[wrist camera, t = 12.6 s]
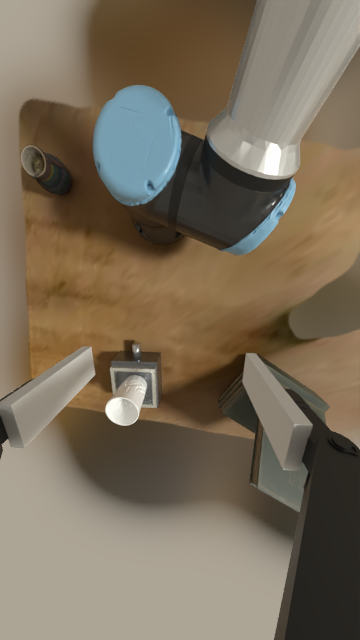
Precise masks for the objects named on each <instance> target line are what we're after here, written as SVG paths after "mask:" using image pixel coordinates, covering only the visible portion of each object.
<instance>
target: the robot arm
mask: <svg viewBox="0 0 360 640" xmlns="http://www.w3.org/2000/svg"><path fill="white" fill-rule="evenodd" d="M359 46H360V0H257V4H256V7H255V10H254V14H253V17H252V21H251V24H250V28H249V31H248V35H247V38H246V42H245V46H244V49H243V53H242V56H241V60H240V64H239V67H238V70H237V74H236V77H235V81H234V84H233V88H232V92H231V95H230V98H229V102H228V106H227V107H226V109H224V110H223V111H222V112H221V113H220V114H219V115H217V116H216V117H215V118H214V119H213V120H212V121H211V122H210V123H209V125H208V127H207V131H206V136H205V140H203V139H200V138H198V137H196V136H194V135H192V134H189V133H187V132H185V131H183V130H181V128H180V123H179V120H178V118H177V116H176V114H175V113H174V111H173V108H172V106H171V105H170V103H169V101H168V100H167V99H166V98H165V97H164V96H163V95H162V94H161V93H160V92H159V91H157V90H156V89H154V88H151V87H148V86H144V85H134V86H129V87H126V88H124V89H122V90H120V91H119V92H117V93H116V96H115V97H114V98H113V99H112V100H110V101H108V102H107V103H106V104H105V105H104V107H103V109H102V110H101V112H100V114H99V117H98V119H97V122H96V125H95V129H94V134H93V156H94V161H95V166H96V168H97V171H98V173H99V176H100V178H101V180H102V181H103V183H104V184H105V186H106V187H107V189H108V190H109V192H110V193H111V195H112V196H113V197H114V198H115V199H116V200H117V201H119V202H120V203H121V204H122V205H123V206H124V207H125V208H126V209H127V210H128V211H129V212H130V214H131V218H132V221H133V223H134V225H135V227H136V229H137V230H138V232H139V233H140V234H141V235H142V236H143V237H144V238H145V239H147V240H148V241H150V242H152V243H155V244H159V245H167V244H171V243H174V242H176V241H178V240H179V239H180V238H181V237H182V236H183V235H186V236H189V237H191V238H194V239H196V240H198V241H201V242H203V243H205V244H208V245H210V246H212V247H215V248H217V249H218V250H219V251H226V252H229V253H231V254H234V255H244V254H247V253H249V252H250V251H252V250H253V249H255V248H256V247H257V246H258V245H259V244H261V243H262V242H263V241H264V239H265V238H266V237H267V236H268V235H269V234H270V233H271V232H272V230H273V229H274V228H275V227H276V225H277V224H278V220H279V218H280V217H281V216H282V215H283V214H284V213H285V212H286V210H287V208H288V207H289V205H290V203H291V201H292V198H293V196H294V193H295V188H296V183H295V181H294V180H293V178H292V177H293V176H294V174H295V173H296V171H297V170H298V168H299V166H300V142H301V139H302V137H303V136H304V134H305V132H306V131H307V129H308V128H309V126H310V124H311V123H312V121H313V120H314V118H315V116H316V115H317V113H318V112H319V110H320V108H321V107H322V105H323V104H324V102H325V100H326V99H327V97H328V96H329V94H330V92H331V91H332V89H333V87H334V86H335V84H336V83H337V81H338V80H339V78H340V76H341V75H342V73H343V72H344V70H345V68H346V67H347V65H348V64H349V62H350V60H351V59H352V57H353V56H354V54H355V52H356V51H357V49H358V47H359ZM94 375H95V369H94V362H93V355H92V348H91V347H81V348H80V349H78V350H77V351H75V352H74V353H72V354H71V355H69V356H68V357H66V358H65V359H63V360H62V361H60V362H59V363H57V364H56V365H54V366H53V367H51V368H50V369H48V370H47V371H45V372H44V373H42V374H41V375H39V376H38V377H36V378H34V379H32V380H30V381H28V382H26V383H25V384H23V385H22V386H21V387H19V388H17V389H16V390H14V392H11V393H10V394H8V395H7V396H5V397H4V398H2V399H1V400H0V458H1V454H2V451H3V449H2V445H1V444H2V443H4V442H5V441H6V440H7V439H9V442H10V445H11V447H15V448H26V446H27V445H28V444H29V443H30V442H31V441H32V440H33V439H34V438H35V437H36V436H37V435H38V434H39V433H40V432H41V431H42V430H43V429H44V428H45V427H46V425H47V424H48V423H49V422H50V421H51V420H52V419H53V418H54V417H55V416H56V415H57V414H58V413H59V412H60V411H61V410H62V409H63V408H64V407H65V406H66V405H67V404H68V403H69V402H70V401H71V399H72V398H73V397H74V396H75V395H76V394H77V393H78V392H79V391H80V390H81V389H82V388H83V387H84V386H85V385H86V384H87V383H88V382H89V381H90V380H91V379H92V378H93V377H94ZM242 383H243V385H244V387H245V389H246V391H247V393H248V395H249V398H250V400H251V402H252V404H253V406H254V408H255V411H256V413H257V415H258V417H259V419H260V421H261V424H262V426H263V428H264V430H265V432H266V434H267V436H268V439H269V441H270V443H271V445H272V447H273V449H274V452H275V454H276V456H277V458H278V460H279V462H280V465H281V467H282V469H283V470H291V471H300V469H301V465H302V462H303V463H304V465H305V467H306V469H307V470H308V474H307V477H306V481H305V484H304V487H303V488H304V493H303V498H302V503H301V508H300V513H299V518H298V523H297V528H296V533H295V538H294V543H293V548H292V553H291V558H290V563H289V568H288V573H287V578H286V583H285V588H284V593H283V599H282V603H281V608H280V613H279V618H278V623H277V628H276V633H275V638H274V640H360V450H359V448H358V447H357V446H356V445H355V444H354V443H353V442H351V441H350V440H349V439H348V438H346V437H344V436H342V435H341V434H338V433H336V432H333V431H331V430H330V429H329V428H328V427H327V426H326V424H325V423H324V422H323V421H322V420H321V419H320V418H319V417H318V415H317V414H316V413H315V412H314V411H313V410H312V409H311V408H310V406H309V405H308V404H307V403H306V402H305V401H304V400H303V398H302V397H301V396H300V395H299V394H297V393H296V392H294V391H293V390H291V389H284V388H283V387H282V386H281V384H280V383H279V382H278V381H277V379H276V378H275V377H274V376H273V374H272V373H271V372H270V371H269V369H268V368H267V367H266V366H265V364H264V363H263V362H262V361H261V359H260V358H259V357H258V356H257V354H256V353H246V357H245V365H244V373H243V380H242Z"/></svg>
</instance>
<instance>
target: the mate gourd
mask: <svg viewBox="0 0 360 640" xmlns="http://www.w3.org/2000/svg"><path fill="white" fill-rule="evenodd" d="M20 160H21V164H22V167H23V169H24V170H25V171H26V173H27V174H29V175H30V176H31V177H32V179H36V180H37V182H38V183H39V184H40V185H41V186H42V187H43V188H44V189H45V190H47V191H48V192H50V193H52V194H53V193H54V194H59V195H63V194H65V193H67V192H68V191H69V190H70V187H71V175H70V173H69V171H68V170H67V168H66V166H65V165H64V164H63V163H62V162H61V161H60V160H59V159H58V158H57V157H55V156H53V155H51V154H48V153H44V152H43V151H42V150H41V149H39V148H38V147H37V146H34V145H27V146H25V147H24V148H23V149H22V151H21V155H20Z"/></svg>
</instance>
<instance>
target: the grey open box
mask: <svg viewBox="0 0 360 640" xmlns="http://www.w3.org/2000/svg"><path fill="white" fill-rule="evenodd" d="M132 351H133V352H121V351H120V352H119V353H118V354H117V355H116V356H115V357H114V358H113V359H112V360H111V365H112V366H111V367H110V373H111V381H112V390H113V395H114V393H115V392H116V391H117V389H118V388H119V387H120V385H121V384H122V383H123V382H124V380H125V379H126V378H127V377H129V376H131V375H138V376H141V377H142V378H144V379H145V381H146V383H147V389H146V392H145V397H144V400H143V404H142V407H148V408H159V404H160V400H161V395H162V380H161V353H153V352H141V343H139V342H136V343H133V344H132Z"/></svg>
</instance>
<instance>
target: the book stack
mask: <svg viewBox="0 0 360 640" xmlns="http://www.w3.org/2000/svg"><path fill="white" fill-rule="evenodd" d="M257 356H258V357H259V358H260V359H261V361H262V362H263V363H264V364H265V366H266V367H267V368H268V369H269V371H270V372H271V373H272V374H273V376H274V377H275V378H276V379H277V381H278V382H279V383H280V384H281V386H282V387H283V388H284V389H291V390H293V391H294V392H296V393H297V394H299V395H300V396H301V397H302V398H303V400H304V401H305V402H306V403H307V404H308V405H309V406H310V408H311V409H312V410H313V411H314V412H315V413H316V414H317V415H318V417H319V418H320V419H321V420H322V421H323V422H324V423H325V424H326V421H325V411H326V410H328V409H329V408H330V406H329V405H328V404H327V403H326V402H324V400H323V399H321V398H320V397H319V396H318V395H317V394H316V393H315V392H313V391H312V390H310V389H309V388H307V387H306V386H305V385H303V384H302V383H300V382H299V381H297V380H296V379H294V378H293V377H291V376H290V375H288V374H287V373H285V372H284V371H282V370H281V369H279V368H278V367H276V366H275V365H273V364H272V363H270V362H269V361H267V360H266V359H264V358H263V357H261V356H260V355H258V354H257ZM243 373H244V371H243V372H242V373H241V374H240V375H239V376H238V377H237V378H236V379H235V381H234V382H233V383H232V384H231V385H230V386H229V387H228V388H227V389H226V391H225V392H224V393H223V394H222V395H221V396H220V397H219V403H220V408H221V409H222V411H221V413H223V414H225V415H226V416H228V417H229V418H231V419H233V420H234V421H236V422H238V423H239V424H241V425H242V426H244V427H246V428H247V429H249V430H251V431H252V432H254V433H255V442H254V450H253V459H252V466H251V474H250V483H249V484H251V485H252V486H254V487H256V488H258V489H259V490H261V491H263V492H264V493H266V494H268V495H270V496H271V497H273V498H275V499H276V500H278V501H280V502H282V503H284V504H285V505H287V506H289V507H290V508H292V509H294V510H296V511H297V512H299V513H300V508H301V503H302V498H303V493H304V488H303V487H304V484H305V481H306V477H307V474H308V470H307V469H306V467H305V465H304V463H303V462H302V465H301V469H300V471H291V470H283V469H282V467H281V465H280V462H279V460H278V458H277V456H276V454H275V452H274V449H273V447H272V445H271V443H270V441H269V439H268V436H267V434H266V432H265V430H264V428H263V426H262V424H261V421H260V419H259V417H258V415H257V413H256V411H255V408H254V406H253V404H252V402H251V400H250V398H249V395H248V393H247V391H246V389H245V387H244V385H243V383H242V380H243Z"/></svg>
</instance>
